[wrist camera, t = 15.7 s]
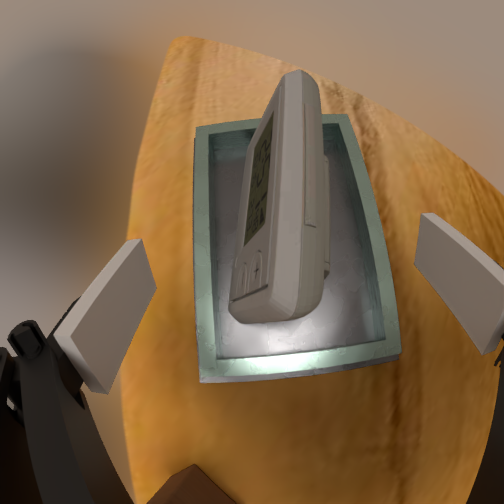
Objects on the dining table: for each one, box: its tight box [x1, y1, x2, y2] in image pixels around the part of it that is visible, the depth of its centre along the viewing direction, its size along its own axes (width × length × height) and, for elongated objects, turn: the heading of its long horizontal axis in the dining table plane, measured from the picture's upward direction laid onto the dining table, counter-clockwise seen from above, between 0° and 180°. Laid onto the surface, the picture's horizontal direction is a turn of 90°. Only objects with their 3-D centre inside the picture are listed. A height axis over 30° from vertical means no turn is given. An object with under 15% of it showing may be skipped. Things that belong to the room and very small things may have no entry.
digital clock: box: [228, 69, 331, 324], centre depth 19 cm, size 16×9×11 cm, turn 163°
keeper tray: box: [193, 114, 402, 383], centre depth 23 cm, size 16×23×4 cm
